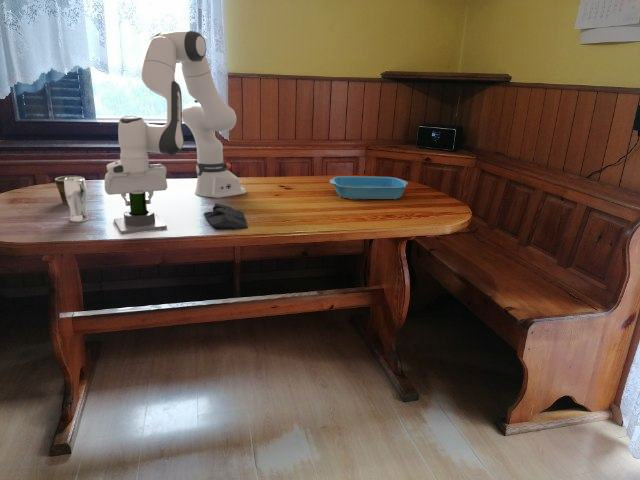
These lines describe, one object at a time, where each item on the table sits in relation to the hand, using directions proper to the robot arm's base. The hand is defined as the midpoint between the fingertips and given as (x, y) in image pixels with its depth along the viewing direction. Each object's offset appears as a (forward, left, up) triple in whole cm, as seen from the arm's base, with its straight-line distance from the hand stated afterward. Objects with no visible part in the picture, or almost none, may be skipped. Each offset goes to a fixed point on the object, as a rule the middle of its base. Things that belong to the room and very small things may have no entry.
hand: (138, 204), depth 169 cm
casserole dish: (-104, -6, -8) cm, 105 cm away
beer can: (0, 0, -7) cm, 7 cm away
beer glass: (+18, -15, -8) cm, 25 cm away
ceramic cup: (+19, -41, -8) cm, 46 cm away
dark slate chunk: (-30, +6, -8) cm, 31 cm away
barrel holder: (0, 0, -8) cm, 8 cm away
